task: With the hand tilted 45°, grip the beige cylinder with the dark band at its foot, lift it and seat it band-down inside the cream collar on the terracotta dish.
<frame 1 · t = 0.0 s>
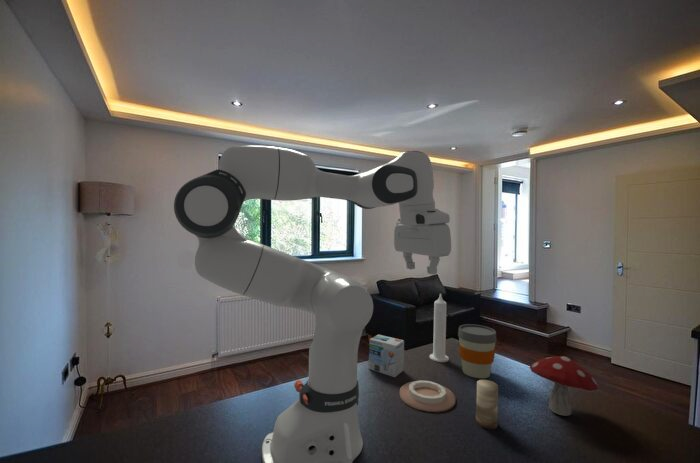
hand: (421, 271, 81), 39 cm above the counter, tool pointing down, fingers open, 8 cm apart
decorative mushroom: (561, 412, 88), on the counter
beige cylinder: (486, 422, 82), on the counter
reusable coffee cup: (475, 372, 112), on the counter
light bulb box: (386, 370, 112), on the counter
collar dish: (426, 396, 95), on the counter
candle: (439, 359, 123), on the counter
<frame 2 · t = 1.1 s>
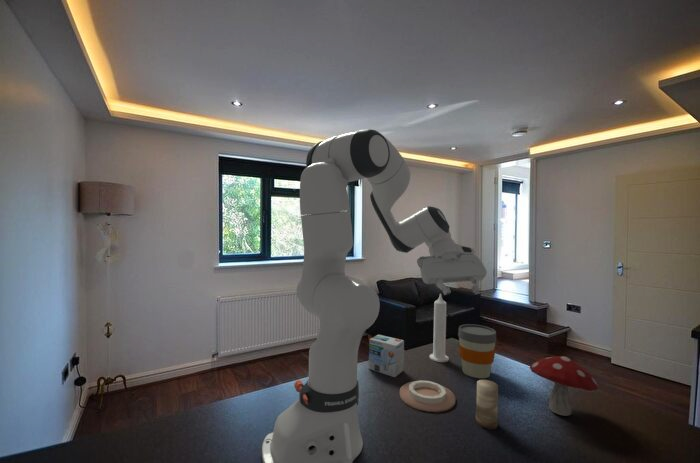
hand: (462, 292, 93), 31 cm above the counter, tool tilted 45°, fingers open, 8 cm apart
nothing on the counter moved.
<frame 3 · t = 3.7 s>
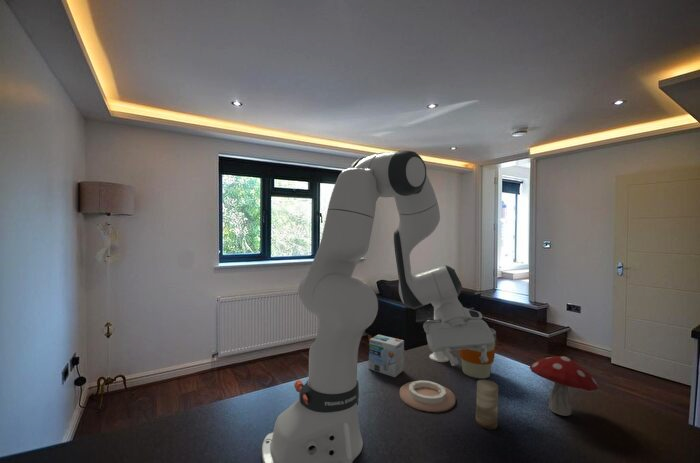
hand: (470, 363, 89), 12 cm above the counter, tool tilted 45°, fingers open, 8 cm apart
nothing on the counter moved.
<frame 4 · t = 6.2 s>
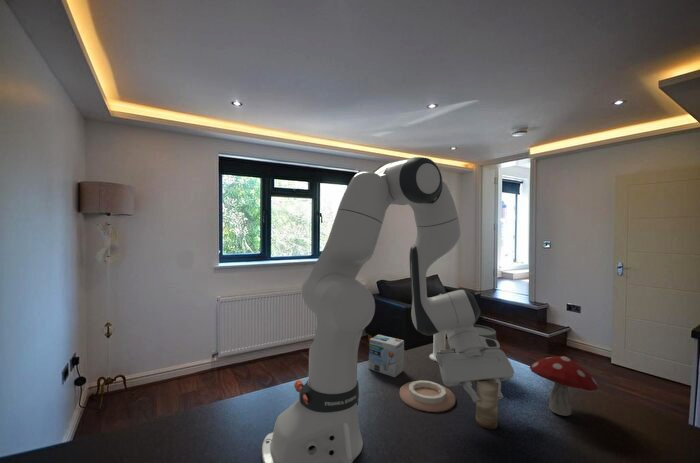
hand: (488, 400, 82), 6 cm above the counter, tool tilted 45°, fingers closed on beige cylinder, 5 cm apart
beige cylinder: (486, 422, 82), on the counter, touching gripper
everything else where it was.
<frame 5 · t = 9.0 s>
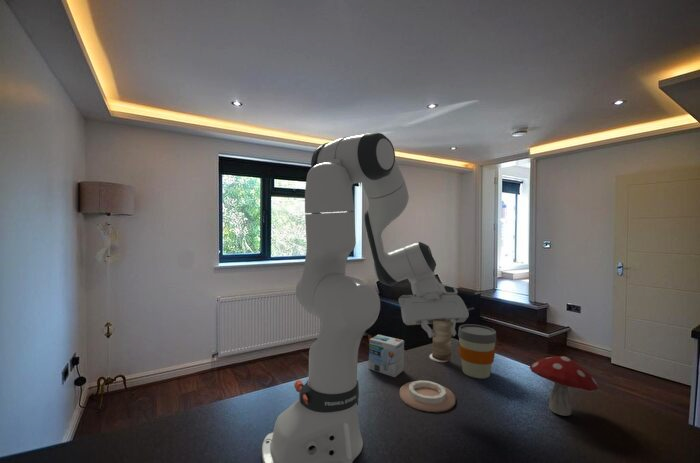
hand: (443, 336, 91), 19 cm above the counter, tool tilted 45°, fingers closed on beige cylinder, 5 cm apart
beige cylinder: (441, 356, 91), point 13 cm above the counter, touching gripper
everything else where it was.
when the fingers open (9 cm above the counter, at t = 12.2 s): beige cylinder drops 2 cm, resting on collar dish.
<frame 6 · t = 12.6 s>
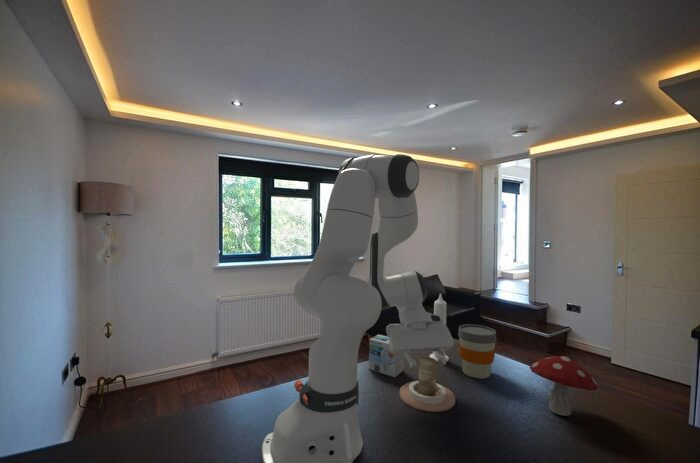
hand: (428, 365, 94), 9 cm above the counter, tool tilted 45°, fingers open, 8 cm apart
beige cylinder: (426, 393, 95), point 1 cm above the counter, touching collar dish
everything else where it was.
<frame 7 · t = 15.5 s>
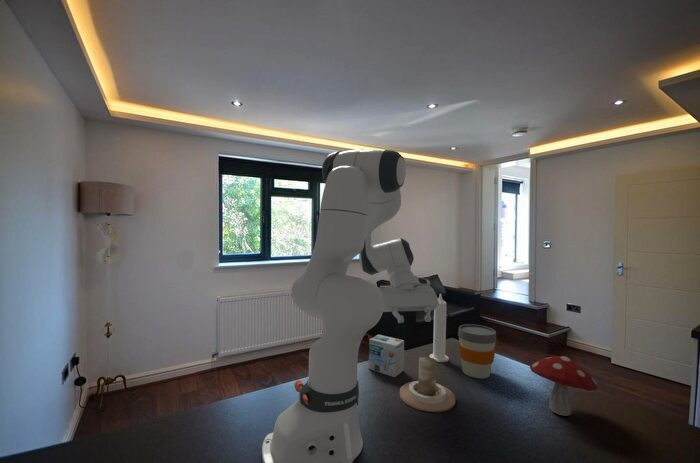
hand: (415, 321, 103), 20 cm above the counter, tool tilted 45°, fingers open, 8 cm apart
nothing on the counter moved.
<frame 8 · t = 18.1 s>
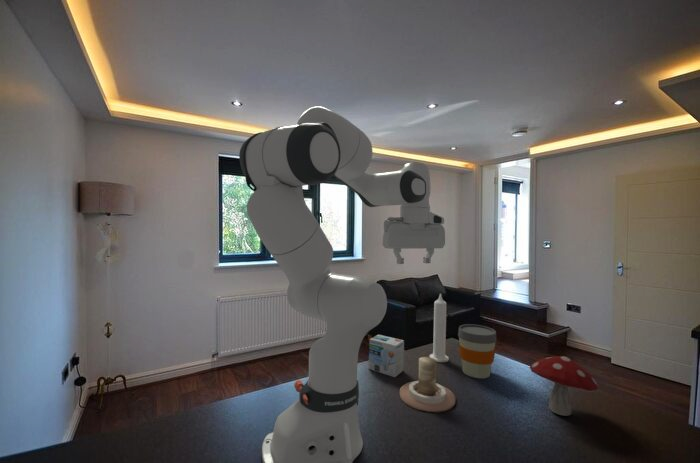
hand: (413, 263, 97), 39 cm above the counter, tool pointing down, fingers open, 8 cm apart
nothing on the counter moved.
at the end: beige cylinder 0.1 cm off-centre on the collar dish, point 0.8 cm above the collar dish's base; beige cylinder tilted 0°; the gripper is holding nothing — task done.
